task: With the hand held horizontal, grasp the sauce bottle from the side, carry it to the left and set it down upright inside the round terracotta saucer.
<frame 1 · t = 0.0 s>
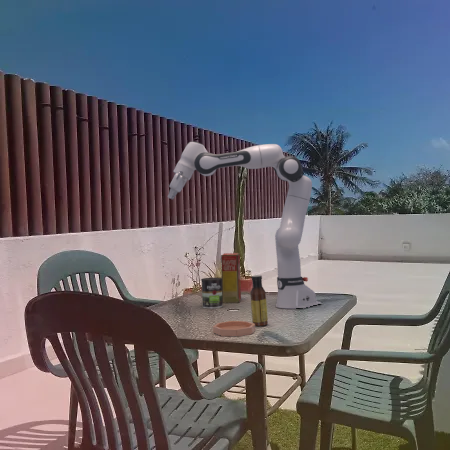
hand: (170, 198, 233), 54 cm above the table, tool tilted 30°, fingers open, 8 cm apart
food packaging: (231, 301, 256), on the table
terracotta saucer: (234, 331, 184), on the table
sauce bottle: (259, 325, 194), on the table
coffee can: (212, 307, 240), on the table
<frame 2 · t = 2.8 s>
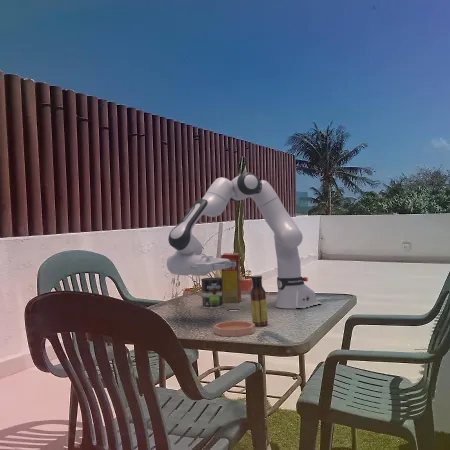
hand: (230, 265, 200), 24 cm above the table, tool horizontal, fingers open, 8 cm apart
nothing on the table moved.
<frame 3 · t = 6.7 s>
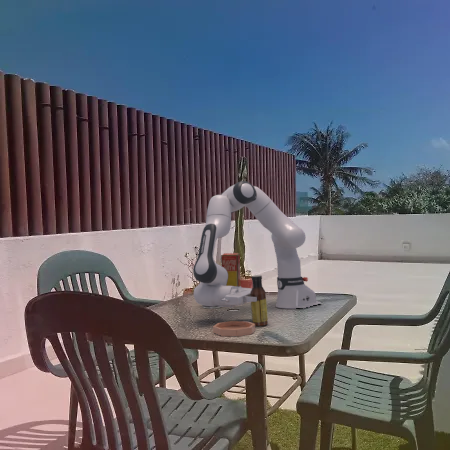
hand: (260, 297, 194), 11 cm above the table, tool horizontal, fingers closed on sauce bottle, 6 cm apart
sauce bottle: (259, 325, 194), on the table, touching gripper
everything else where it was.
when the fingers open (14 cm above the table, at t = 11.5 s): sauce bottle stays where it is, resting on terracotta saucer.
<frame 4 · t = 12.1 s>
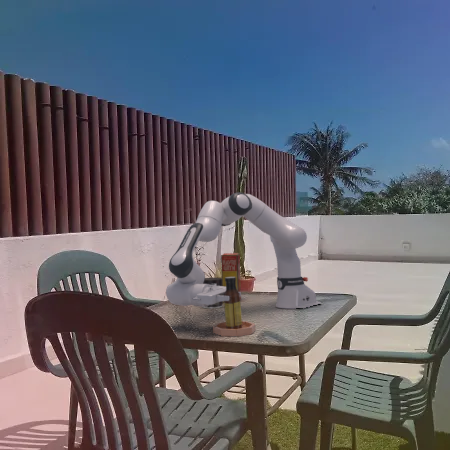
hand: (235, 296, 184), 14 cm above the table, tool horizontal, fingers open, 8 cm apart
sauce bottle: (233, 329, 184), point 1 cm above the table, touching terracotta saucer
everything else where it was.
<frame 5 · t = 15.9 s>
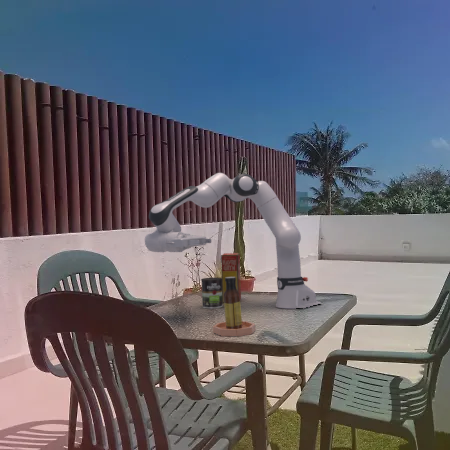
hand: (205, 241, 205), 34 cm above the table, tool horizontal, fingers open, 8 cm apart
nothing on the table moved.
at the end: sauce bottle 0.2 cm from the terracotta saucer (horizontally); sauce bottle tilted 0°; sauce bottle point 0.8 cm above the table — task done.
